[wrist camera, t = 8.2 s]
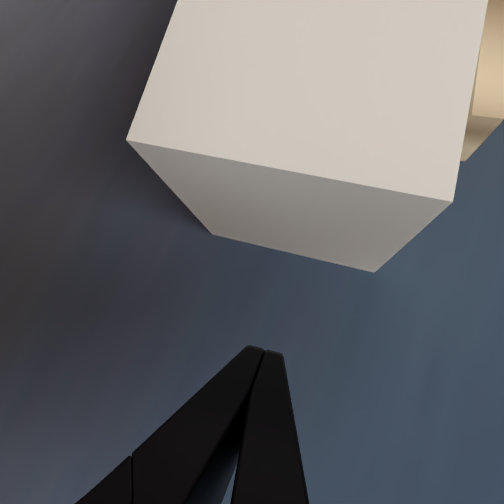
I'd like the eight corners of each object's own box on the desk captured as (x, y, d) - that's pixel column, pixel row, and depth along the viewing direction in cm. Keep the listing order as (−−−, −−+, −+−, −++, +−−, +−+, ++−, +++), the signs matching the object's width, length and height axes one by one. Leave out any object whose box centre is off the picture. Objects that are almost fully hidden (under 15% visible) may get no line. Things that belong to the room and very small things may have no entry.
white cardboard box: (373, 273, 14) (452, 201, 7) (213, 235, 16) (126, 140, 8) (432, -7, 17) (539, -291, 9) (290, -19, 18) (279, -275, 11)
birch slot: (464, 161, 15) (504, 118, 12) (205, 125, 17) (184, 82, 14) (489, -32, 17) (528, -109, 14) (253, -42, 19) (244, -110, 16)
